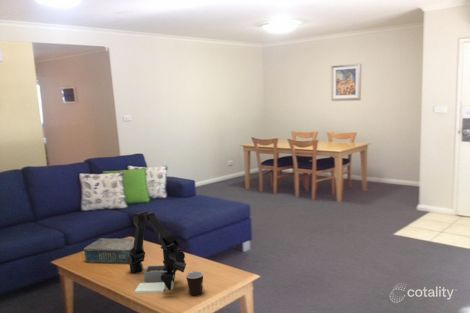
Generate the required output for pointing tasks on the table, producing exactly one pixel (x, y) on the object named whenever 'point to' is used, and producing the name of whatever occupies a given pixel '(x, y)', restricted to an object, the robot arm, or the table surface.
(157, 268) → the tub
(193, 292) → the coffee mug
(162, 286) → the cube on cream block
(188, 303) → the table surface
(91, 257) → the metal box
